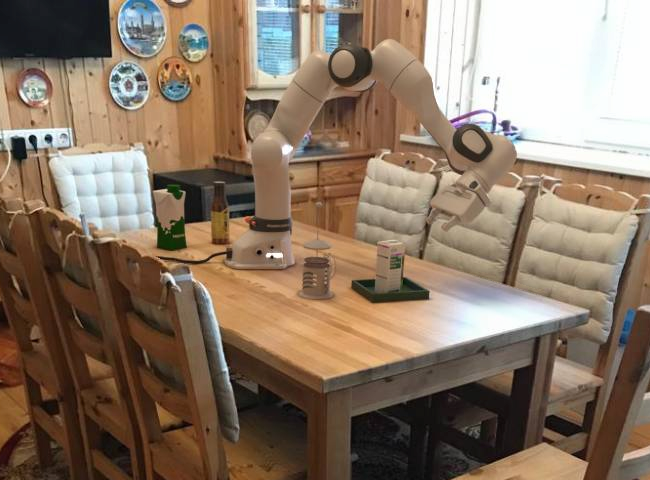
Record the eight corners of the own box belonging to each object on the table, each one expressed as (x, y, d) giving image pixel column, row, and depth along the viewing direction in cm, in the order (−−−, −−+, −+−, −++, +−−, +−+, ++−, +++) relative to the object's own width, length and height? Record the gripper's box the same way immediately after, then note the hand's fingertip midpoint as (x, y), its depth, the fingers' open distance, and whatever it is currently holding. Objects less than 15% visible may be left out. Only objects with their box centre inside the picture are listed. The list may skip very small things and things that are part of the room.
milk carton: (171, 251, 270) (168, 187, 260) (152, 247, 274) (148, 183, 264) (190, 247, 276) (188, 184, 266) (171, 243, 280) (168, 181, 270)
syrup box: (386, 297, 231) (390, 244, 224) (373, 292, 235) (377, 240, 228) (402, 294, 234) (406, 242, 227) (388, 289, 238) (392, 238, 231)
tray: (372, 303, 226) (373, 294, 225) (351, 288, 239) (351, 280, 238) (428, 299, 232) (429, 290, 231) (405, 284, 245) (405, 276, 244)
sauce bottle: (228, 245, 281) (227, 184, 272) (210, 244, 281) (208, 183, 271) (230, 241, 287) (229, 181, 277) (213, 240, 287) (211, 180, 277)
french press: (316, 287, 238) (319, 197, 225) (344, 296, 231) (349, 204, 218) (291, 293, 232) (293, 201, 219) (319, 302, 224) (323, 207, 212)
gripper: (446, 174, 235) (412, 211, 236) (483, 186, 218) (446, 225, 220) (458, 191, 238) (425, 226, 240) (495, 203, 222) (459, 241, 224)
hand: (435, 226), depth 230 cm, fingers open, 8 cm apart
